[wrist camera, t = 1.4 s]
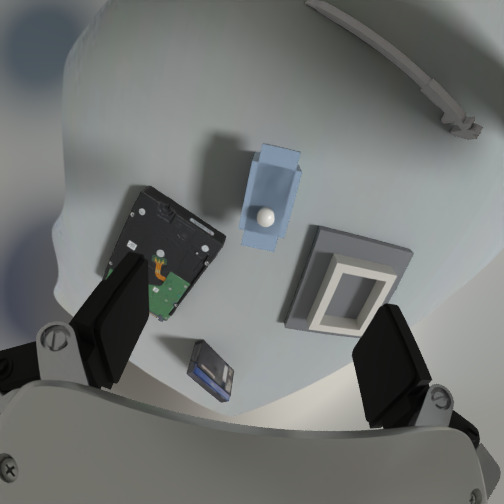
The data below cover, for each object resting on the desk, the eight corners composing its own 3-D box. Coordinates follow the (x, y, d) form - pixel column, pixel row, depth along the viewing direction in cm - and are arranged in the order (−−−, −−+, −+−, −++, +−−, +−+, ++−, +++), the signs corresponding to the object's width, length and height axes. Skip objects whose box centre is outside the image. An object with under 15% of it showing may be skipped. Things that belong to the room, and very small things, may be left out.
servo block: (300, 146, 24) (308, 156, 19) (278, 229, 29) (279, 258, 24) (258, 136, 24) (255, 143, 19) (241, 221, 29) (234, 249, 23)
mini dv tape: (234, 370, 41) (229, 401, 36) (226, 372, 41) (221, 402, 36) (203, 339, 38) (195, 371, 33) (195, 341, 38) (186, 373, 33)
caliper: (455, 128, 21) (490, 137, 16) (450, 135, 22) (485, 145, 16) (309, -2, 17) (319, -28, 11) (303, 4, 17) (312, -22, 12)
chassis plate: (410, 249, 29) (420, 262, 26) (364, 333, 35) (369, 349, 33) (319, 225, 28) (323, 238, 26) (284, 322, 35) (285, 339, 32)
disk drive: (150, 182, 28) (109, 273, 34) (139, 189, 25) (99, 284, 31) (228, 233, 30) (171, 312, 36) (225, 244, 28) (165, 326, 34)
